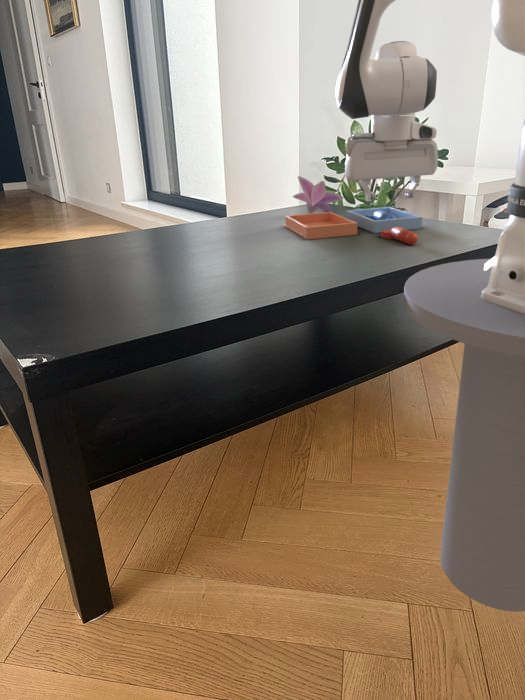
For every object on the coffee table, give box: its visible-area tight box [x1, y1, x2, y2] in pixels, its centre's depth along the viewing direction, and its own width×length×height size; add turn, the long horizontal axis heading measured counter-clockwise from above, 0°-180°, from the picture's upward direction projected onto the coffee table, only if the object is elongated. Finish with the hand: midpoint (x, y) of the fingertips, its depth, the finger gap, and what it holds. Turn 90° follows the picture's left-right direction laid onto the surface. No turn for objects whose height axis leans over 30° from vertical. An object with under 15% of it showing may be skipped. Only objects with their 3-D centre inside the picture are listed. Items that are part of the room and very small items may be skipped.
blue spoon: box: [366, 211, 396, 221], centre depth 124 cm, size 11×4×2 cm, turn 15°
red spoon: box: [380, 227, 419, 246], centre depth 109 cm, size 11×4×2 cm, turn 15°
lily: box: [292, 175, 344, 214], centre depth 135 cm, size 12×12×10 cm
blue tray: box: [345, 206, 423, 234], centre depth 124 cm, size 15×11×2 cm
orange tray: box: [284, 211, 358, 241], centre depth 121 cm, size 15×11×2 cm
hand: (389, 199), depth 120 cm, fingers open, 8 cm apart
